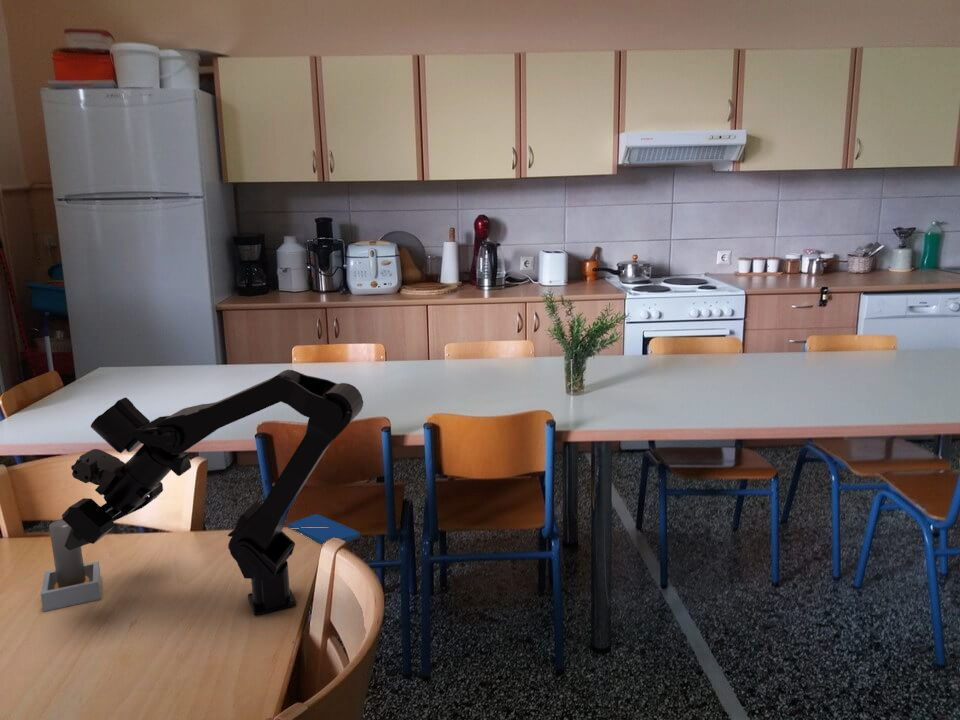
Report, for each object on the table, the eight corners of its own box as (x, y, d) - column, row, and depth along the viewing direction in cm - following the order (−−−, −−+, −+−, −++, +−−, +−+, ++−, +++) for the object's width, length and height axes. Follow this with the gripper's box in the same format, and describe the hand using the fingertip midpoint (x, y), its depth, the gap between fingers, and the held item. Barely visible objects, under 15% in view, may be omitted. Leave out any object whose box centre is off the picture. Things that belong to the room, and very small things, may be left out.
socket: (100, 599, 119) (98, 582, 118) (43, 611, 116) (40, 594, 115) (100, 577, 126) (98, 561, 125) (47, 588, 123) (44, 572, 122)
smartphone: (316, 513, 150) (362, 532, 140) (317, 517, 151) (362, 537, 140) (285, 524, 145) (329, 546, 135) (285, 529, 145) (330, 550, 135)
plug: (90, 597, 120) (80, 526, 117) (55, 604, 118) (44, 532, 115) (90, 583, 124) (81, 514, 122) (56, 590, 122) (46, 520, 119)
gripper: (138, 418, 123) (84, 479, 127) (66, 456, 105) (5, 525, 109) (187, 464, 124) (132, 523, 128) (124, 509, 106) (62, 576, 109)
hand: (85, 534), depth 118 cm, fingers open, 9 cm apart
